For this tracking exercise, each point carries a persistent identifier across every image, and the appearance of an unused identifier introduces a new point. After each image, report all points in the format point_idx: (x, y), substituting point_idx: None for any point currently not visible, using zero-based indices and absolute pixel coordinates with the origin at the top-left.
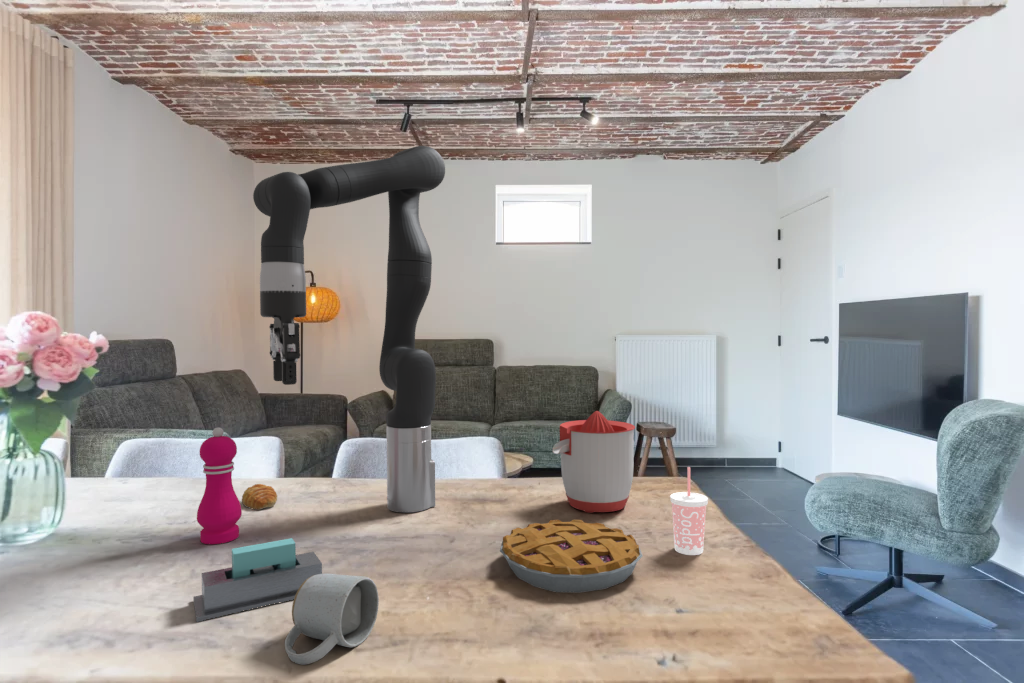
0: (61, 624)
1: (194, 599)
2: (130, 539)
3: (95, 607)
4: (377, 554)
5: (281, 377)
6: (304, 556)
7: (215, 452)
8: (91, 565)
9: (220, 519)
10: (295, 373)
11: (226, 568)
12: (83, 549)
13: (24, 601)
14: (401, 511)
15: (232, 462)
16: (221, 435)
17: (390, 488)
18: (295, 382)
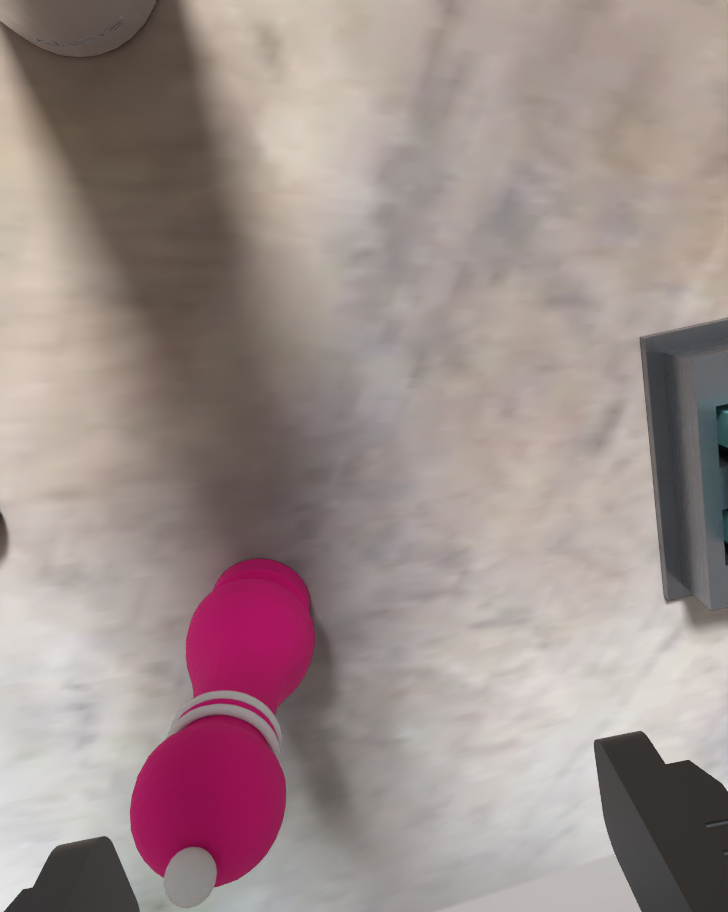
0: None
1: (683, 595)
2: None
3: None
4: (561, 161)
5: (110, 903)
6: (718, 383)
7: (284, 805)
8: (364, 821)
9: (312, 630)
10: (698, 824)
11: (709, 563)
12: None
13: (521, 865)
14: (153, 2)
15: (213, 713)
16: (203, 849)
17: (80, 11)
18: (645, 740)
